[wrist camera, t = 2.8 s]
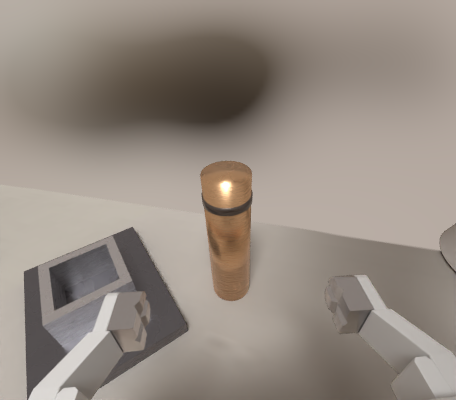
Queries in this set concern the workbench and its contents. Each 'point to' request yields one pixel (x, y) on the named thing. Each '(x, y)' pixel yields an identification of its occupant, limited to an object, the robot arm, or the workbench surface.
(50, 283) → the dark grey piece
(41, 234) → the workbench surface
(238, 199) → the thermos bottle
